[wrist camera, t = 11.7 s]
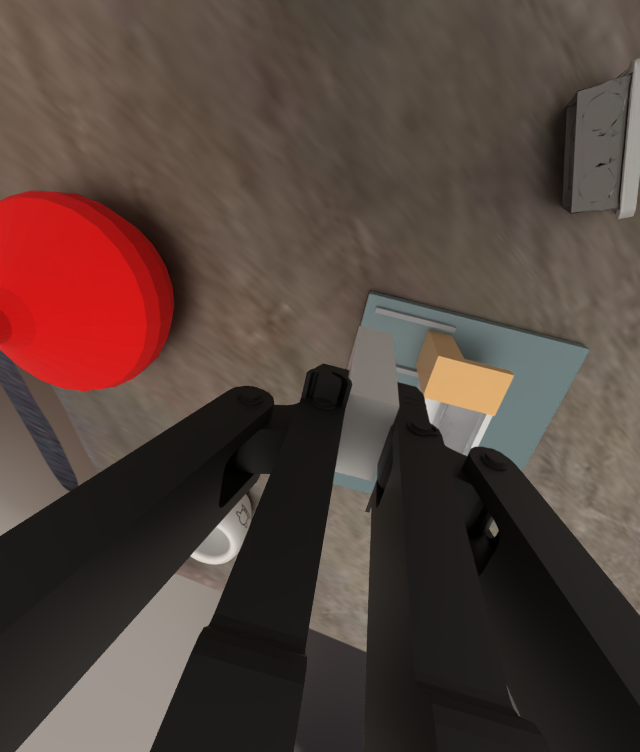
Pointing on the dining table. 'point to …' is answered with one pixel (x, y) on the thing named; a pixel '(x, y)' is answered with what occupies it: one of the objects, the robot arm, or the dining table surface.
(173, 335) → the dining table surface
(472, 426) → the grey long bar
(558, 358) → the teal base with bracket
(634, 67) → the electrical switch
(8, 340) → the vase
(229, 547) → the mug
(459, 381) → the orange block
